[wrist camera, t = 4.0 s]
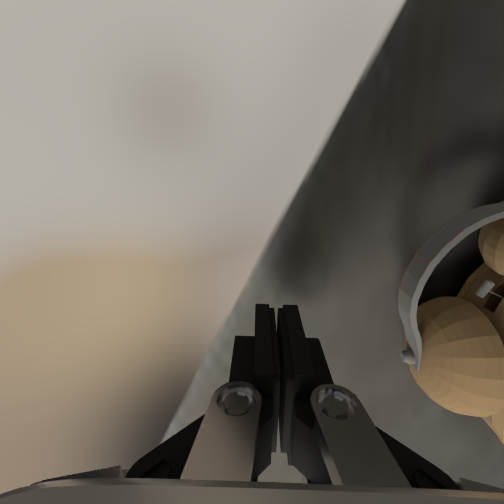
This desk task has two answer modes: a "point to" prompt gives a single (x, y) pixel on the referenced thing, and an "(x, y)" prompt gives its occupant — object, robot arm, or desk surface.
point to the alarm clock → (459, 321)
